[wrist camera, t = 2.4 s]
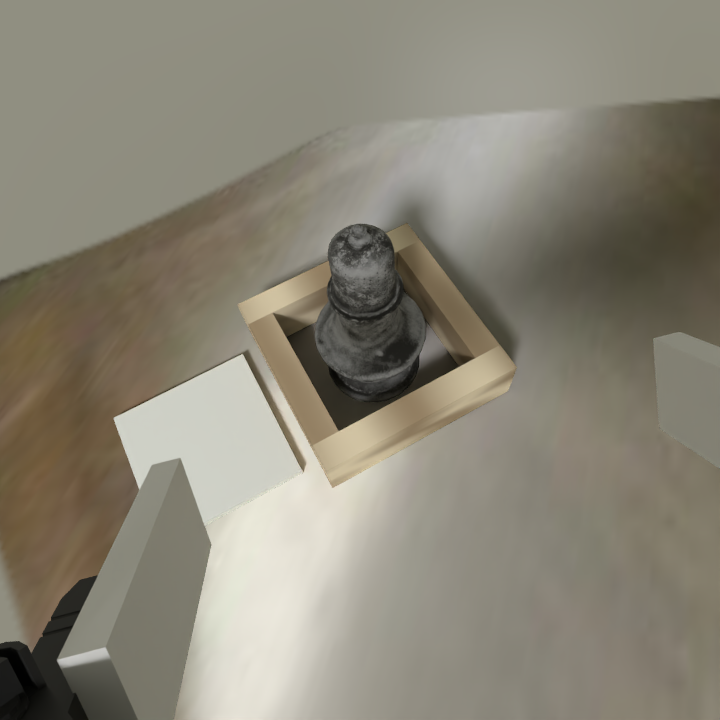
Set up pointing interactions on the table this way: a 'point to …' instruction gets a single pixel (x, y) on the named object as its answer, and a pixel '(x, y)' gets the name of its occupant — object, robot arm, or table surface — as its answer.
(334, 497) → the table surface
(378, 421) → the wooden square frame
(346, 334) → the dark chess piece
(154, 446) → the white mat
